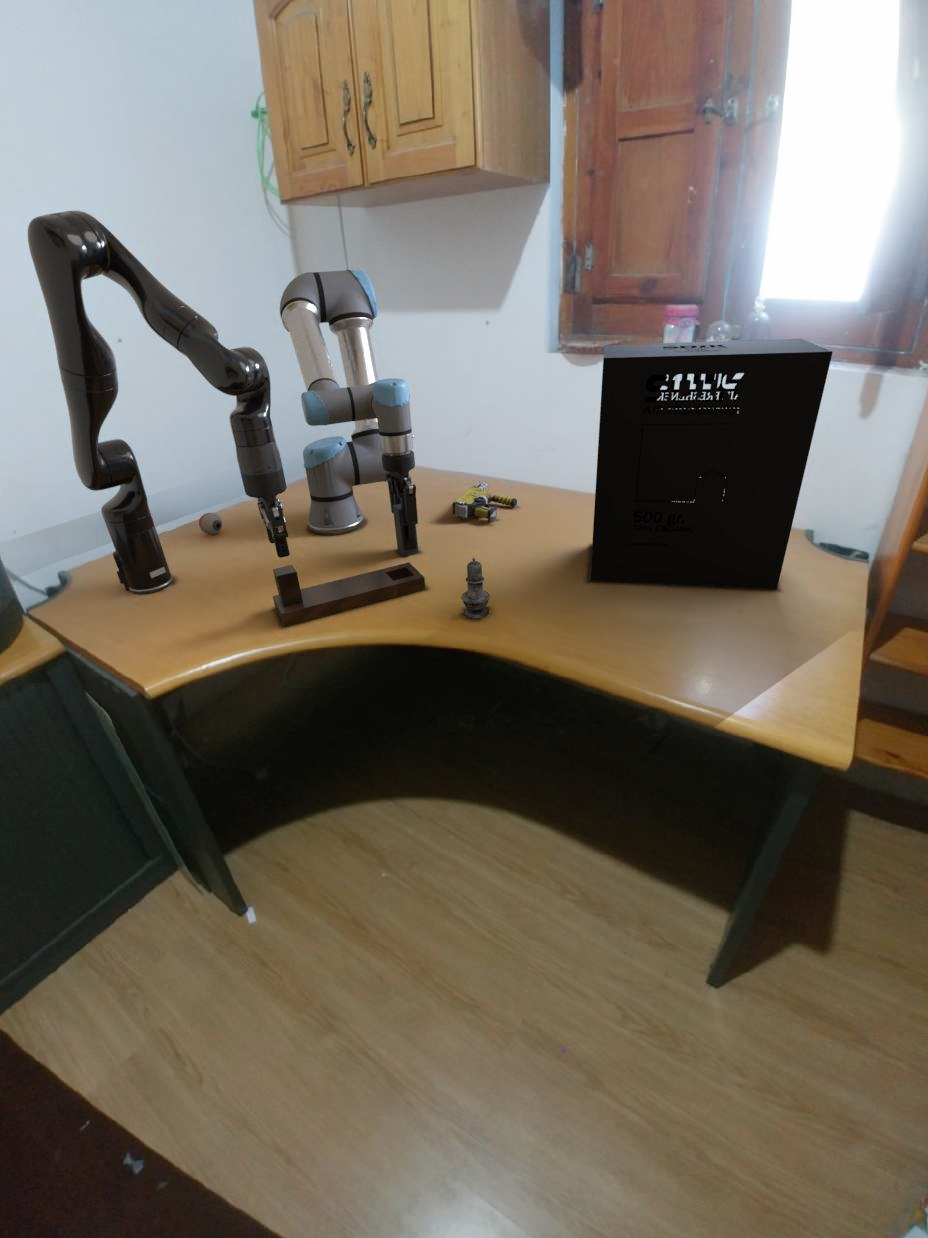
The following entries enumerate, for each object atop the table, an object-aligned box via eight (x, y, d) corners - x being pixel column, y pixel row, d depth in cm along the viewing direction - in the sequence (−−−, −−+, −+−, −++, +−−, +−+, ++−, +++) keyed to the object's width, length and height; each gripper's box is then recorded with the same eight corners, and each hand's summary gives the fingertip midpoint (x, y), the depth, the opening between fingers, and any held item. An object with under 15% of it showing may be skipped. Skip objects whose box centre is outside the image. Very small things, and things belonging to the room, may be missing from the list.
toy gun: (525, 486, 181) (478, 479, 184) (503, 510, 160) (450, 501, 164) (523, 501, 183) (477, 494, 187) (501, 526, 163) (450, 518, 167)
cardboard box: (756, 549, 141) (800, 338, 118) (776, 589, 124) (832, 351, 101) (592, 544, 148) (604, 344, 126) (590, 580, 131) (603, 357, 109)
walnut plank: (284, 626, 121) (274, 582, 116) (275, 608, 128) (265, 565, 123) (425, 589, 132) (421, 547, 127) (410, 573, 140) (405, 533, 135)
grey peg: (403, 556, 149) (398, 509, 143) (397, 550, 152) (392, 505, 146) (418, 552, 150) (414, 506, 144) (412, 547, 153) (407, 501, 147)
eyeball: (212, 539, 164) (206, 518, 161) (197, 535, 167) (191, 515, 164) (230, 531, 169) (224, 511, 166) (215, 528, 172) (210, 508, 169)
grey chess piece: (488, 619, 119) (486, 564, 113) (459, 618, 120) (455, 563, 114) (493, 605, 124) (491, 551, 118) (465, 604, 125) (462, 550, 119)
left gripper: (289, 472, 106) (306, 557, 114) (274, 455, 117) (290, 533, 125) (246, 480, 103) (266, 566, 111) (234, 462, 115) (254, 541, 123)
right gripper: (427, 456, 133) (435, 554, 145) (399, 441, 146) (408, 531, 158) (395, 462, 130) (406, 561, 142) (370, 446, 144) (381, 537, 155)
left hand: (279, 549), depth 118 cm, fingers open, 8 cm apart
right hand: (407, 545), depth 150 cm, fingers closed on grey peg, 4 cm apart
